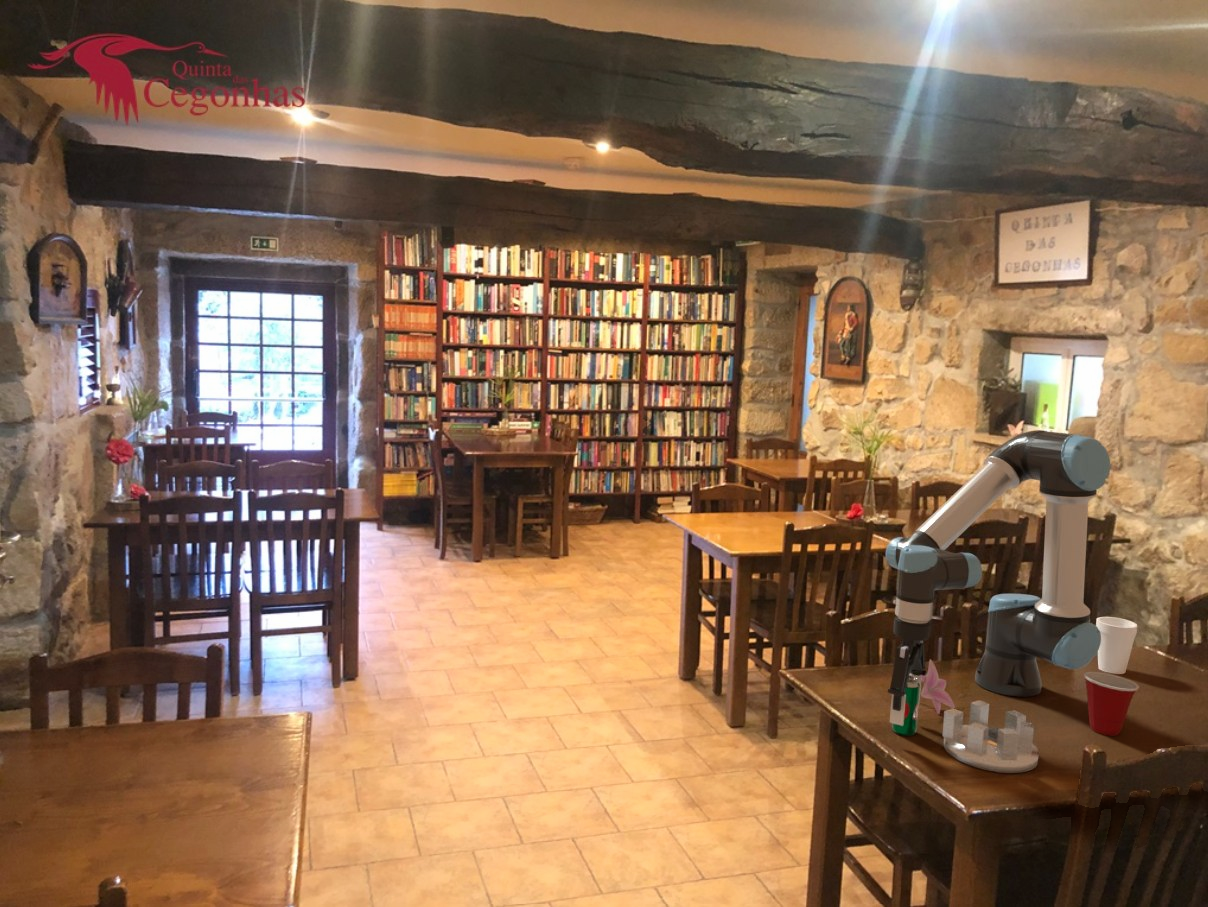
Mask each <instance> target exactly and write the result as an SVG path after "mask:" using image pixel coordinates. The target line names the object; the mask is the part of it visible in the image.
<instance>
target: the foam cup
mask: <svg viewBox="0 0 1208 907" xmlns="http://www.w3.org/2000/svg"><path fill="white" fill-rule="evenodd" d="M1095 626H1097V627H1098V630H1100V633H1101V643H1100V647H1099V650H1098V652H1097V663H1098V670H1100V671H1102V672H1104V673H1107V674H1112V675H1123V674H1125V673H1126V671H1127V668H1128V663H1129V660H1130V656H1131V653H1132V649H1133V645H1134V641H1135V638H1136V636H1137V631H1138V624H1137V623H1136V622H1133V621H1131V620H1129V619H1124V618H1120V617H1115V616H1113V617H1112V616H1100V617H1097V618H1096V623H1095Z"/></svg>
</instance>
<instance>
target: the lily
mask: <svg viewBox="0 0 1208 907" xmlns="http://www.w3.org/2000/svg"><path fill="white" fill-rule="evenodd" d="M920 676H922V680H921V682H923V686H922V688H921V689H922V690H921V691H920V697H922V698H925V699H929V700H931V701H932V704H933V706H934V709H935V711H936V713H937V715H938V714H939V715H940V714H941V713H940V712H941V704H943V705H946V706H947V707H950V709H952V708H955V709H956V706H955V704H954V702H953V700H952V698H951V696H950V694H949V693H948V692H947V691H946V690H945V689H946V687H947V680H945V679H943V678H939V673H938V670H937V668H936V666H935V663H934V662H933V660H932V659H929V662H928V669H927V671H926V675H925V676H923V675H920Z"/></svg>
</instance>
